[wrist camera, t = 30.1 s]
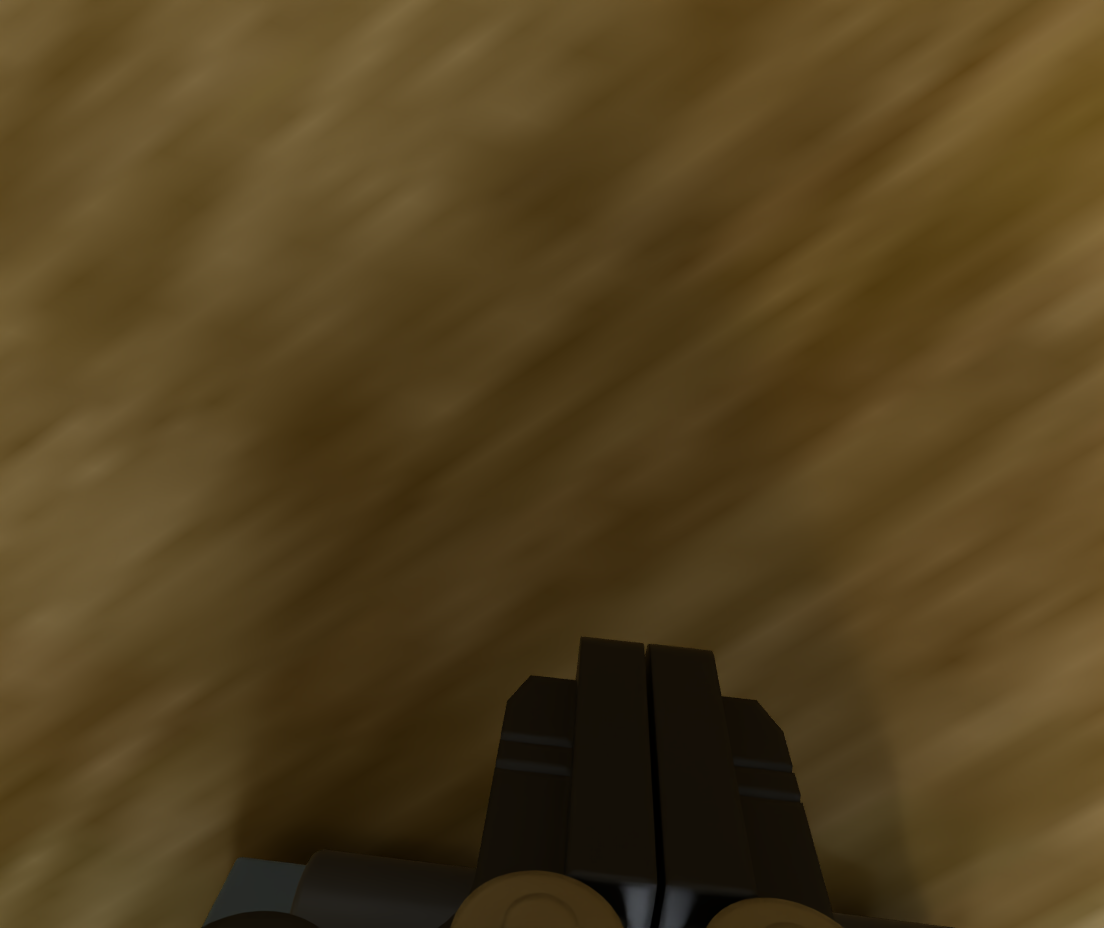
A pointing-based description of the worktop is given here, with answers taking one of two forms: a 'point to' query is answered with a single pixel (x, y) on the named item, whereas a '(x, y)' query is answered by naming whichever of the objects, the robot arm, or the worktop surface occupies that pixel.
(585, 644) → the robot arm
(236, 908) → the drawer
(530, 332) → the worktop surface
